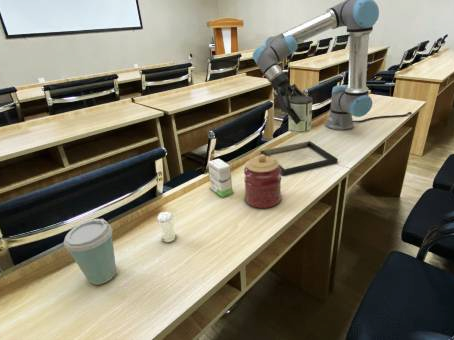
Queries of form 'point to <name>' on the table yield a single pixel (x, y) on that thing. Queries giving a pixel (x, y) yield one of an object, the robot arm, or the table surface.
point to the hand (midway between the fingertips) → (305, 119)
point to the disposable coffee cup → (93, 250)
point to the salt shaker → (166, 226)
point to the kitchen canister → (262, 182)
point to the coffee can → (301, 114)
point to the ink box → (220, 177)
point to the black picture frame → (296, 169)
